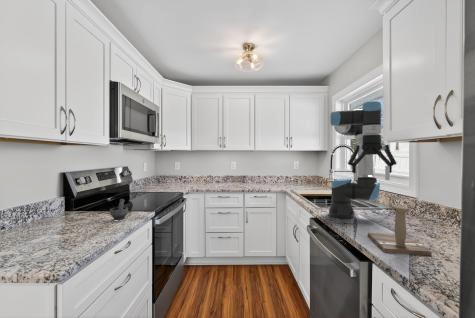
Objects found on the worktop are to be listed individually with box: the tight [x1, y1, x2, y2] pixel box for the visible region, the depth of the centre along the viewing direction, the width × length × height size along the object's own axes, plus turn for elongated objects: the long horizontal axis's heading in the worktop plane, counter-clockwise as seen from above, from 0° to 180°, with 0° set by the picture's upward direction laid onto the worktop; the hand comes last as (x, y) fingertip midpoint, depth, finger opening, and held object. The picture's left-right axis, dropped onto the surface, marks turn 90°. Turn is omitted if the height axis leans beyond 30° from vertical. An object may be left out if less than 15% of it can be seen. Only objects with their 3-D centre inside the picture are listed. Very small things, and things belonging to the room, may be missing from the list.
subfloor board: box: [367, 231, 432, 256], centre depth 101 cm, size 20×16×2 cm
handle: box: [391, 205, 411, 245], centre depth 97 cm, size 5×6×15 cm
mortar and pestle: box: [109, 198, 129, 221], centre depth 144 cm, size 11×9×12 cm
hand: (371, 180), depth 112 cm, fingers open, 13 cm apart
